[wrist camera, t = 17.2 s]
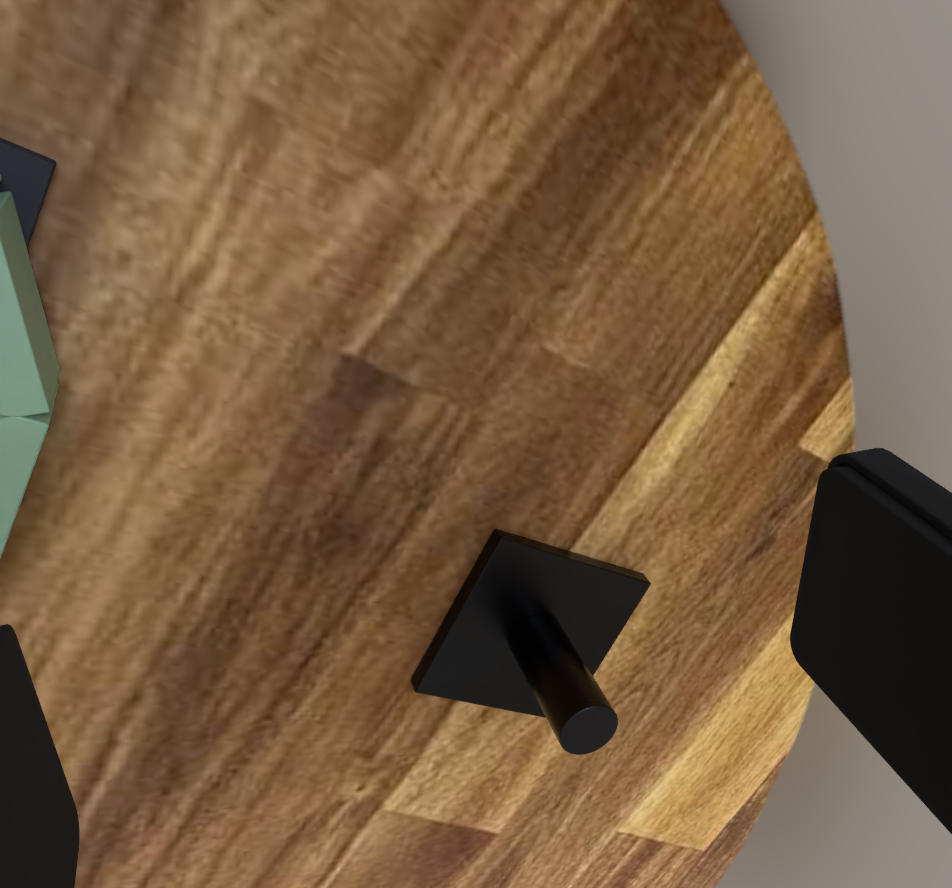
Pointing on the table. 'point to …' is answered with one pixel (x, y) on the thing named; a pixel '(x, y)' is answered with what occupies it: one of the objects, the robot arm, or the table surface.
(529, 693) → the post
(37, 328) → the hoop
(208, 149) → the table surface
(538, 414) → the table surface
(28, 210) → the mat
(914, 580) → the robot arm
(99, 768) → the table surface
